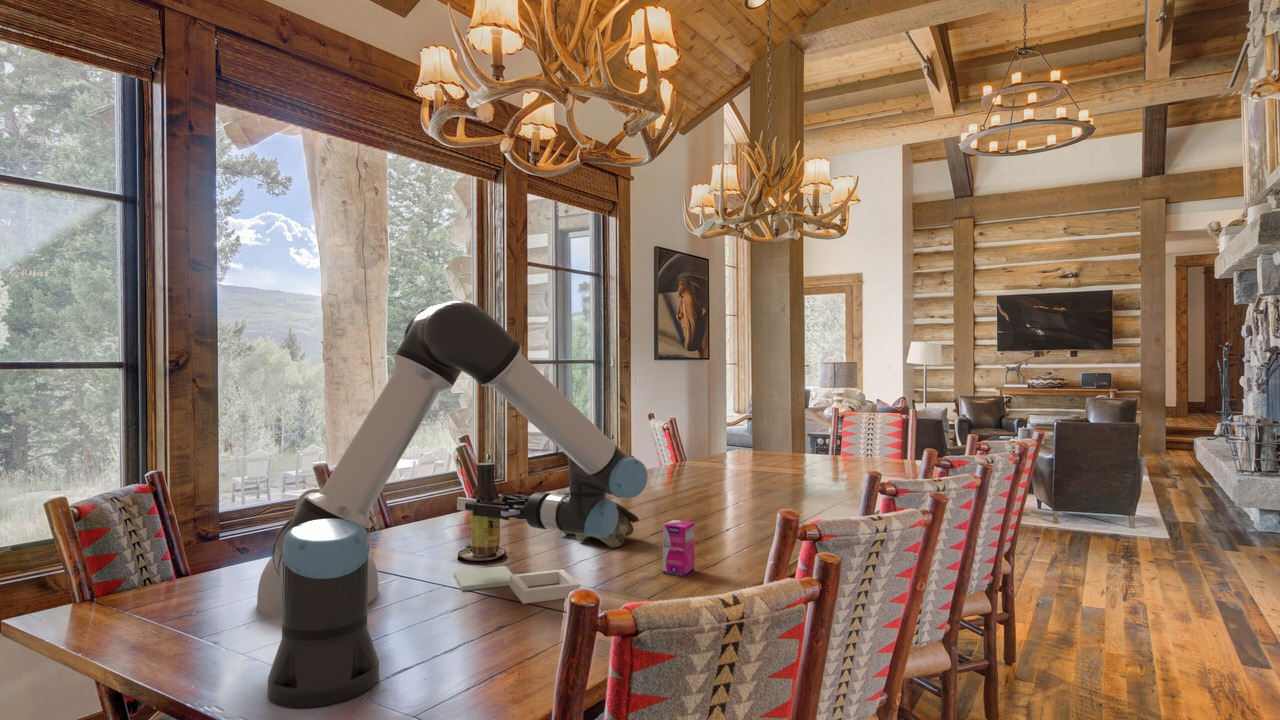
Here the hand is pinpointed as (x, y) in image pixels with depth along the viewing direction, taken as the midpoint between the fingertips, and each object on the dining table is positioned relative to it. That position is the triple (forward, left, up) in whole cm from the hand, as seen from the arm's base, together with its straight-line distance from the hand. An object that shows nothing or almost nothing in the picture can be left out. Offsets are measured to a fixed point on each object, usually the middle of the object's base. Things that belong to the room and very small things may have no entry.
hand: (469, 501), depth 159 cm
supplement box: (+46, -15, -17) cm, 51 cm away
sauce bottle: (+3, -4, -11) cm, 12 cm away
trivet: (+3, -4, -17) cm, 18 cm away
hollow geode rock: (+38, +23, -17) cm, 48 cm away
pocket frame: (+13, -17, -17) cm, 27 cm away
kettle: (-30, -5, -17) cm, 35 cm away
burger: (+6, +15, -18) cm, 24 cm away
